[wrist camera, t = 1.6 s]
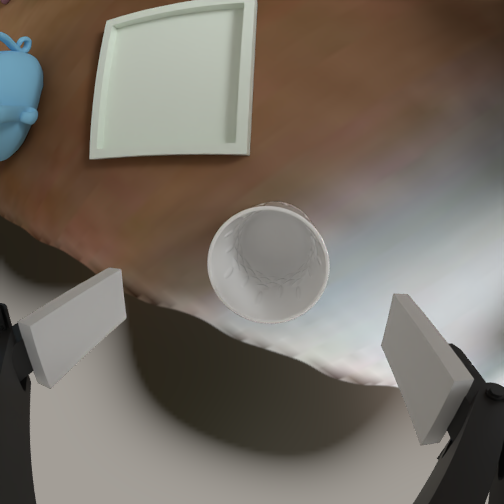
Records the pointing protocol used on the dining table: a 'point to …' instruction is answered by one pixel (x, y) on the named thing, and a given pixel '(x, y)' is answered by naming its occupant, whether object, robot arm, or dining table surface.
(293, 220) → the white cup
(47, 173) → the dining table surface
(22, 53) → the decorative pot
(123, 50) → the tray
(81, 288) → the robot arm
